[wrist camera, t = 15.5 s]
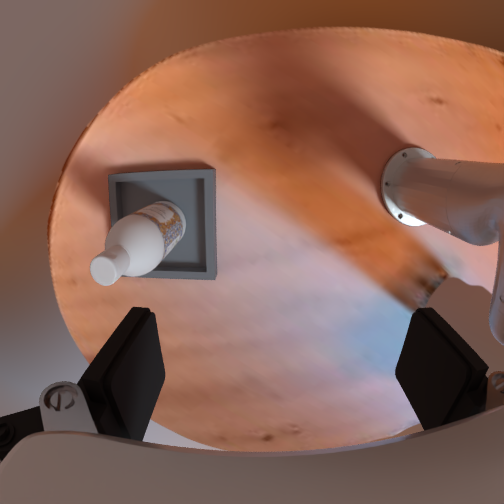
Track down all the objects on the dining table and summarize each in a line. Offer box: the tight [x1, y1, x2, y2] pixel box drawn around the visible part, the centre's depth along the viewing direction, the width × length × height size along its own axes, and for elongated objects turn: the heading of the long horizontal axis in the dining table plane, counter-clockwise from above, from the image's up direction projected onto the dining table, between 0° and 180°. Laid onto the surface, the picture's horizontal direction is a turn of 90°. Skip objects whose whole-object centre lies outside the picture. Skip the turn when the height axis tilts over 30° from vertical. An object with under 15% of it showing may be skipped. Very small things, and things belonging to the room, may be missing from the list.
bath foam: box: [90, 201, 186, 286], centre depth 33 cm, size 7×7×20 cm
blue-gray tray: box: [108, 169, 217, 280], centre depth 42 cm, size 16×16×2 cm
